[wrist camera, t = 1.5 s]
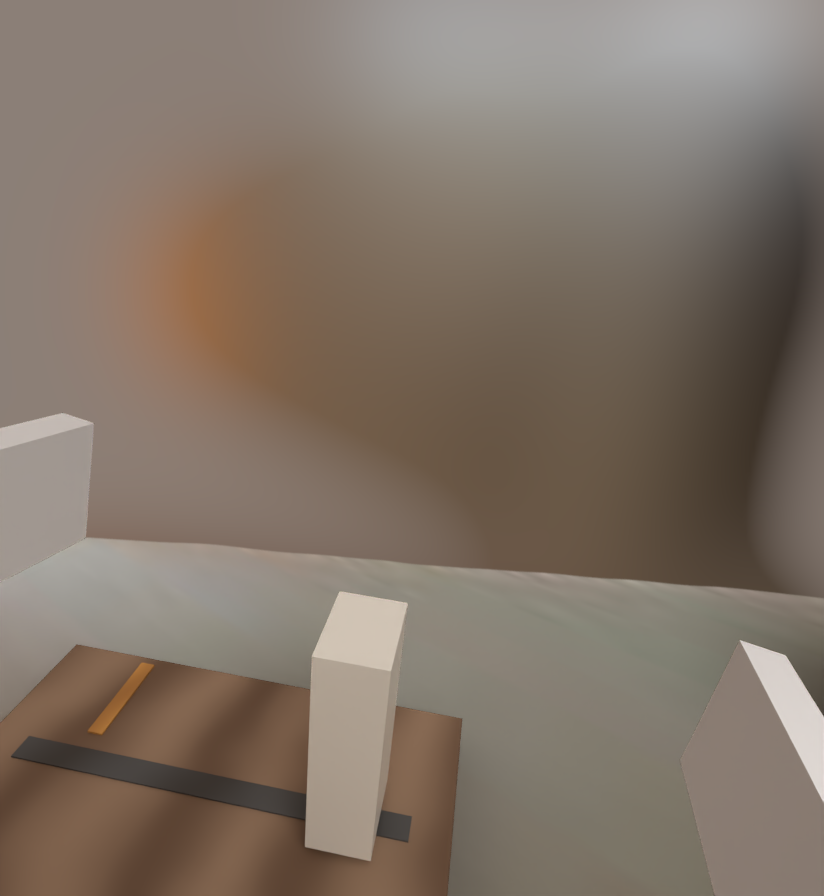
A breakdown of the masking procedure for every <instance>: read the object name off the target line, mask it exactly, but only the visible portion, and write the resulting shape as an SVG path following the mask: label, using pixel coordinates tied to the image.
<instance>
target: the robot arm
mask: <svg viewBox="0 0 824 896" xmlns="http://www.w3.org/2000/svg"><path fill="white" fill-rule="evenodd" d="M93 430H94V423H91V422H89V421H86V420H83V419H80V418H77V417H74V416H71V415H67V414H65V413H61V414H57V415H53V416H49V417H45V418H40V419H37V420H32V421H28V422H24V423H20V424H16V425H12V426H7V427H4V428H0V582H2V581H4V580H6V579H8V578H10V577H12V576H14V575H16V574H18V573H20V572H21V571H23V570H25V569H27V568H29V567H31V566H33V565H35V564H37V563H39V562H41V561H43V560H45V559H47V558H49V557H50V556H52V555H54V554H56V553H58V552H60V551H62V550H64V549H66V548H68V547H70V546H72V545H74V544H76V543H77V542H79V541H81V540H83V539H85V538H86V526H87V511H88V498H89V485H90V471H91V457H92V443H93ZM680 762H681V766H682V770H683V774H684V778H685V782H686V786H687V790H688V794H689V797H690V801H691V805H692V809H693V813H694V817H695V821H696V825H697V829H698V833H699V837H700V840H701V844H702V848H703V852H704V856H705V860H706V864H707V868H708V872H709V876H710V879H711V883H712V887H713V891H714V895H715V896H824V716H823V715H822V713H821V712H820V710H819V708H818V707H817V705H816V703H815V702H814V700H813V699H812V697H811V695H810V694H809V692H808V691H807V689H806V687H805V686H804V684H803V683H802V681H801V679H800V678H799V676H798V674H797V673H796V671H795V670H794V668H793V666H792V665H791V663H790V662H789V660H788V658H787V657H786V655H783V654H780V653H777V652H774V651H771V650H768V649H765V648H762V647H759V646H756V645H753V644H750V643H747V642H744V641H741V640H739V642H738V644H737V646H736V648H735V650H734V652H733V654H732V656H731V658H730V661H729V663H728V665H727V667H726V669H725V671H724V673H723V675H722V677H721V679H720V681H719V683H718V685H717V687H716V689H715V691H714V693H713V695H712V697H711V699H710V701H709V703H708V705H707V707H706V709H705V711H704V713H703V715H702V717H701V719H700V721H699V723H698V725H697V727H696V729H695V731H694V733H693V735H692V737H691V739H690V741H689V743H688V745H687V747H686V749H685V751H684V753H683V755H682V757H681V759H680Z"/></svg>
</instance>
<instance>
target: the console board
mask: <svg viewBox="0 0 824 896" xmlns="http://www.w3.org/2000/svg"><path fill="white" fill-rule="evenodd" d="M309 717H310V689H305V688H300V687H295V686H289V685H284V684H279V683H274V682H269V681H263V680H258V679H253V678H248V677H243V676H237V675H232V674H227V673H222V672H217V671H211V670H206V669H201V668H196V667H191V666H185V665H180V664H175V663H170V662H165V661H159V660H154V659H149V658H144V657H139V656H133V655H128V654H123V653H118V652H113V651H108V650H102V649H97V648H92V647H87V646H82V645H76V646H75V647H74V648H73V649H72V650H71V651H70V652H69V653H68V654H67V655H66V656H65V657H64V658H63V659H62V660H61V661H60V662H59V663H58V664H57V665H56V666H55V667H54V668H53V669H52V670H51V671H50V672H49V674H48V675H47V676H46V677H45V678H44V679H43V680H42V681H41V682H40V683H39V684H38V685H37V686H36V687H35V688H34V689H33V690H32V691H31V692H30V693H29V694H28V695H27V696H26V697H25V698H24V699H23V700H22V701H21V702H20V703H19V704H18V705H17V706H16V707H15V708H14V709H13V710H12V711H11V713H10V714H9V715H8V716H7V717H6V718H5V719H4V720H3V721H2V722H1V723H0V896H447V892H448V880H449V869H450V857H451V845H452V833H453V821H454V810H455V798H456V786H457V774H458V762H459V750H460V739H461V727H462V719H461V718H456V717H450V716H445V715H440V714H435V713H430V712H424V711H419V710H414V709H409V708H404V707H398V706H396V709H395V718H394V727H393V735H392V744H391V753H390V761H389V770H388V779H387V784H386V789H385V794H384V799H383V803H382V808H381V813H380V818H379V823H378V828H377V833H376V837H375V842H374V847H373V852H372V857H371V861H367V860H362V859H358V858H353V857H348V856H344V855H339V854H335V853H330V852H326V851H321V850H317V849H312V848H308V847H305V826H306V799H307V771H308V744H309Z"/></svg>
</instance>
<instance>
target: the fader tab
mask: <svg viewBox="0 0 824 896" xmlns="http://www.w3.org/2000/svg"><path fill="white" fill-rule="evenodd" d="M407 606H408V603H404V602H399V601H393V600H387V599H382V598H376V597H370V596H364V595H359V594H353V593H347V592H342V591H340V592H339V594H338V596H337V599H336V601H335V603H334V606H333V608H332V610H331V613H330V615H329V617H328V620H327V622H326V624H325V627H324V629H323V631H322V634H321V636H320V638H319V641H318V643H317V645H316V648H315V650H314V652H313V655H312V662H311V689H310V717H309V744H308V771H307V799H306V826H305V847H308V848H312V849H317V850H321V851H326V852H330V853H335V854H339V855H344V856H348V857H353V858H358V859H362V860H367V861H371V857H372V852H373V847H374V842H375V837H376V833H377V828H378V823H379V818H380V813H381V808H382V803H383V799H384V794H385V789H386V784H387V779H388V770H389V761H390V753H391V744H392V735H393V727H394V718H395V709H396V701H397V692H398V684H399V675H400V666H401V658H402V649H403V640H404V632H405V623H406V614H407Z"/></svg>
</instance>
